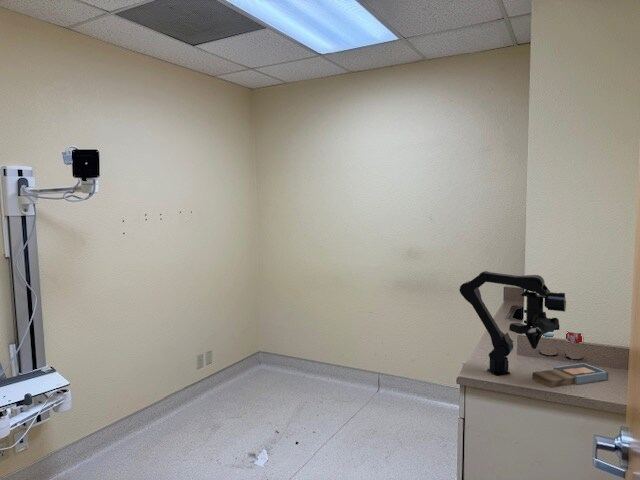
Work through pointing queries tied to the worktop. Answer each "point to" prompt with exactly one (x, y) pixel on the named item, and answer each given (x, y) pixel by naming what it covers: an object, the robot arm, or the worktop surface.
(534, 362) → the worktop surface
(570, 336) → the soda can
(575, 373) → the tile
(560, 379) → the bench board
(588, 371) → the tile
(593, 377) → the box
